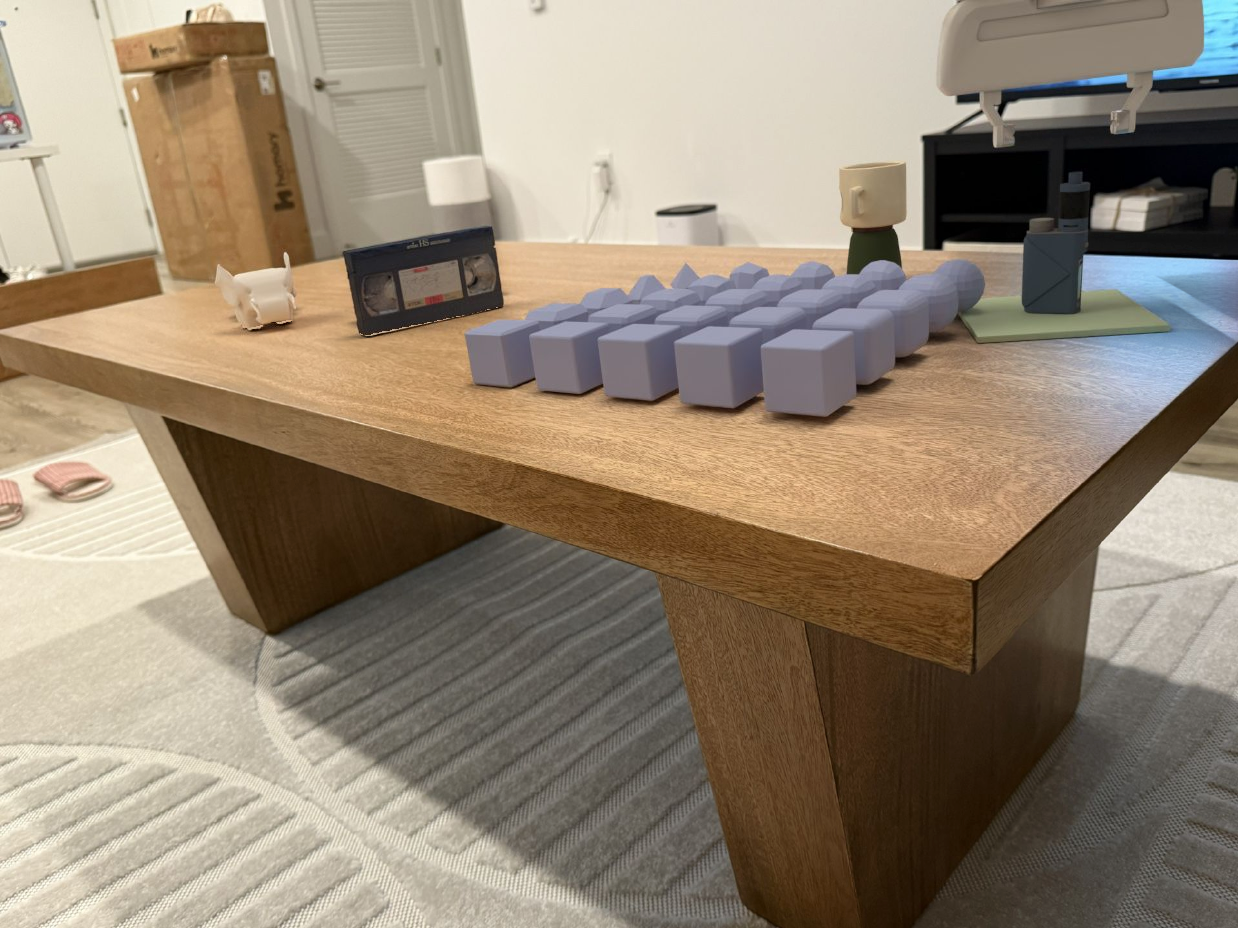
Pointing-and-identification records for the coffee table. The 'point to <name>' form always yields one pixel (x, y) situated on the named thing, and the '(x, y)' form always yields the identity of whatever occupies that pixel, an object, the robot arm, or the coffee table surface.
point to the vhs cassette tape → (424, 279)
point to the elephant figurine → (259, 294)
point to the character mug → (873, 211)
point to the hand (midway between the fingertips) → (1062, 140)
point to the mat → (1060, 319)
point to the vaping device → (1057, 253)
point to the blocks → (730, 335)
